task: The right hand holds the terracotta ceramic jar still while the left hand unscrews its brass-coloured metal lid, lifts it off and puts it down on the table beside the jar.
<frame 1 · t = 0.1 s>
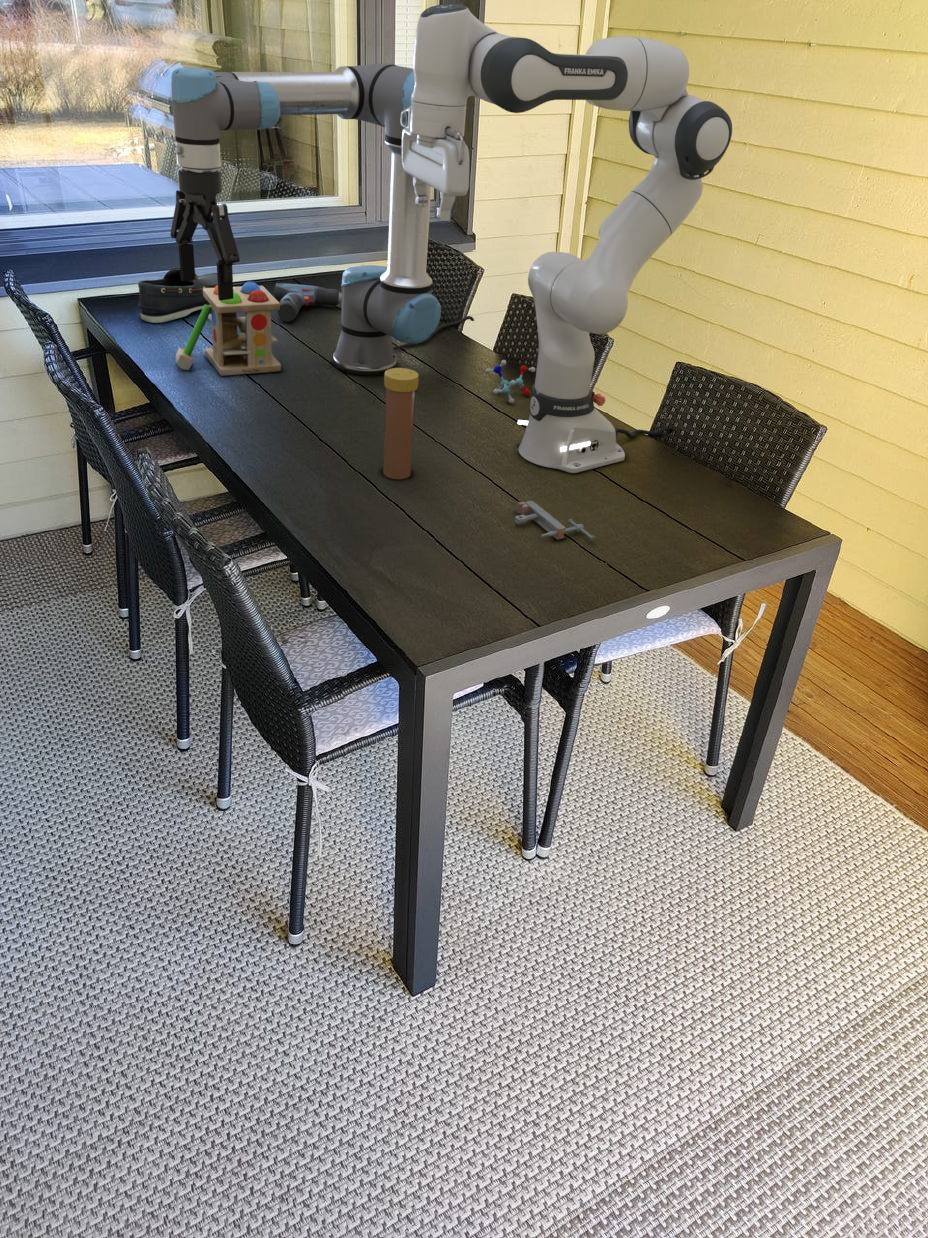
left hand: (206, 289, 186), 28 cm above the table, tool pointing down, fingers open, 13 cm apart
right hand: (432, 212, 166), 48 cm above the table, tool pointing down, fingers open, 8 cm apart
power drill: (305, 313, 267), on the table
lid: (401, 375, 180), point 20 cm above the table, screwed on, not yet turned
pounding bench toy: (225, 365, 230), on the table
clamp: (548, 530, 177), on the table
jar: (396, 473, 191), on the table
boat shoe: (186, 307, 263), on the table
molecular model: (506, 396, 229), on the table
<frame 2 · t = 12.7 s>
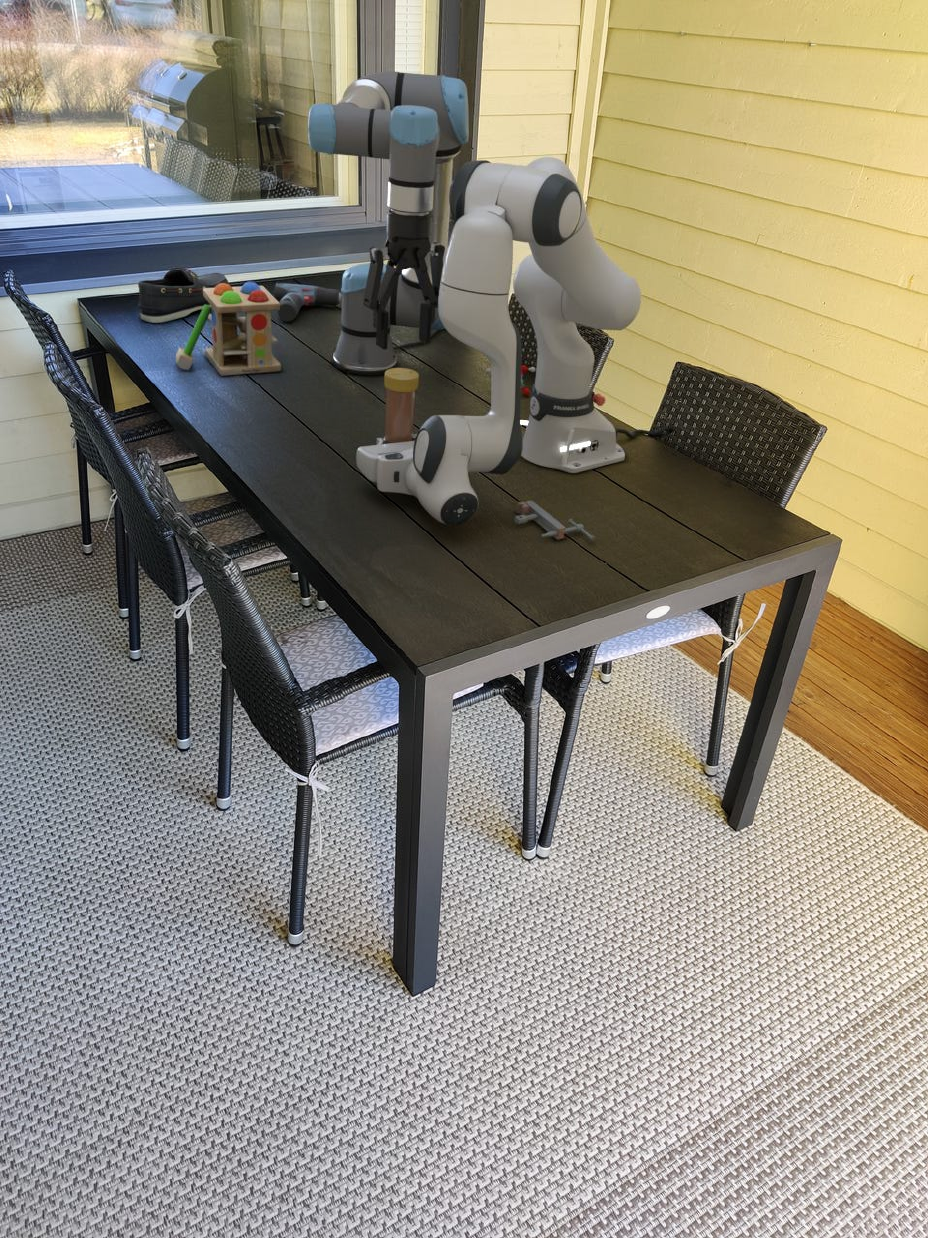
left hand: (403, 343, 176), 26 cm above the table, tool pointing down, fingers open, 8 cm apart
right hand: (396, 439, 188), 7 cm above the table, tool horizontal, fingers closed on jar, 5 cm apart
jar: (396, 473, 191), on the table, touching right hand
everything else where it was.
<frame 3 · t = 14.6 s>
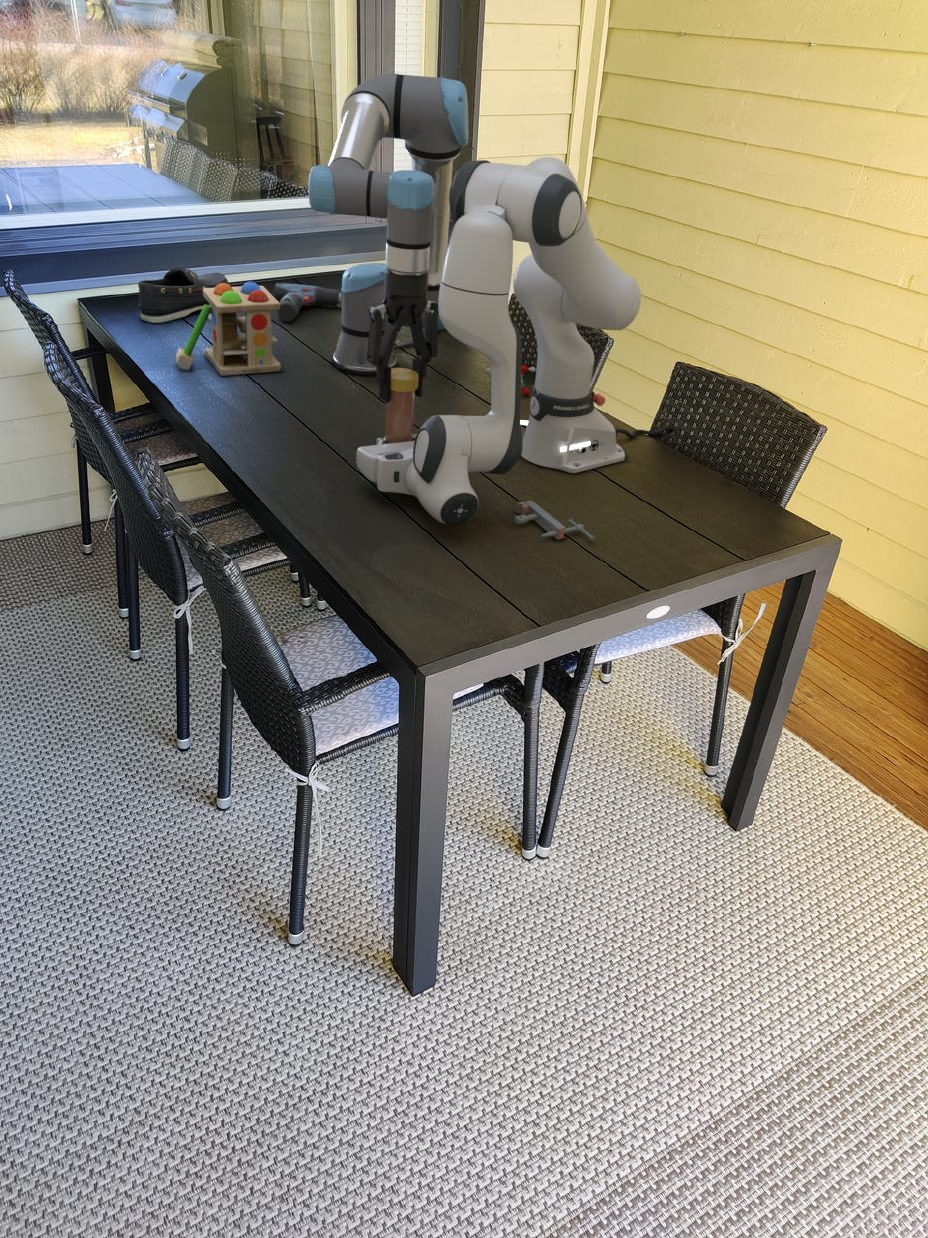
left hand: (400, 396, 182), 16 cm above the table, tool pointing down, fingers closed on lid, 6 cm apart
right hand: (396, 439, 188), 7 cm above the table, tool horizontal, fingers closed on jar, 5 cm apart
lid: (401, 375, 180), point 20 cm above the table, screwed on, not yet turned, touching left hand
jar: (396, 473, 191), on the table, touching right hand
everything else where it was.
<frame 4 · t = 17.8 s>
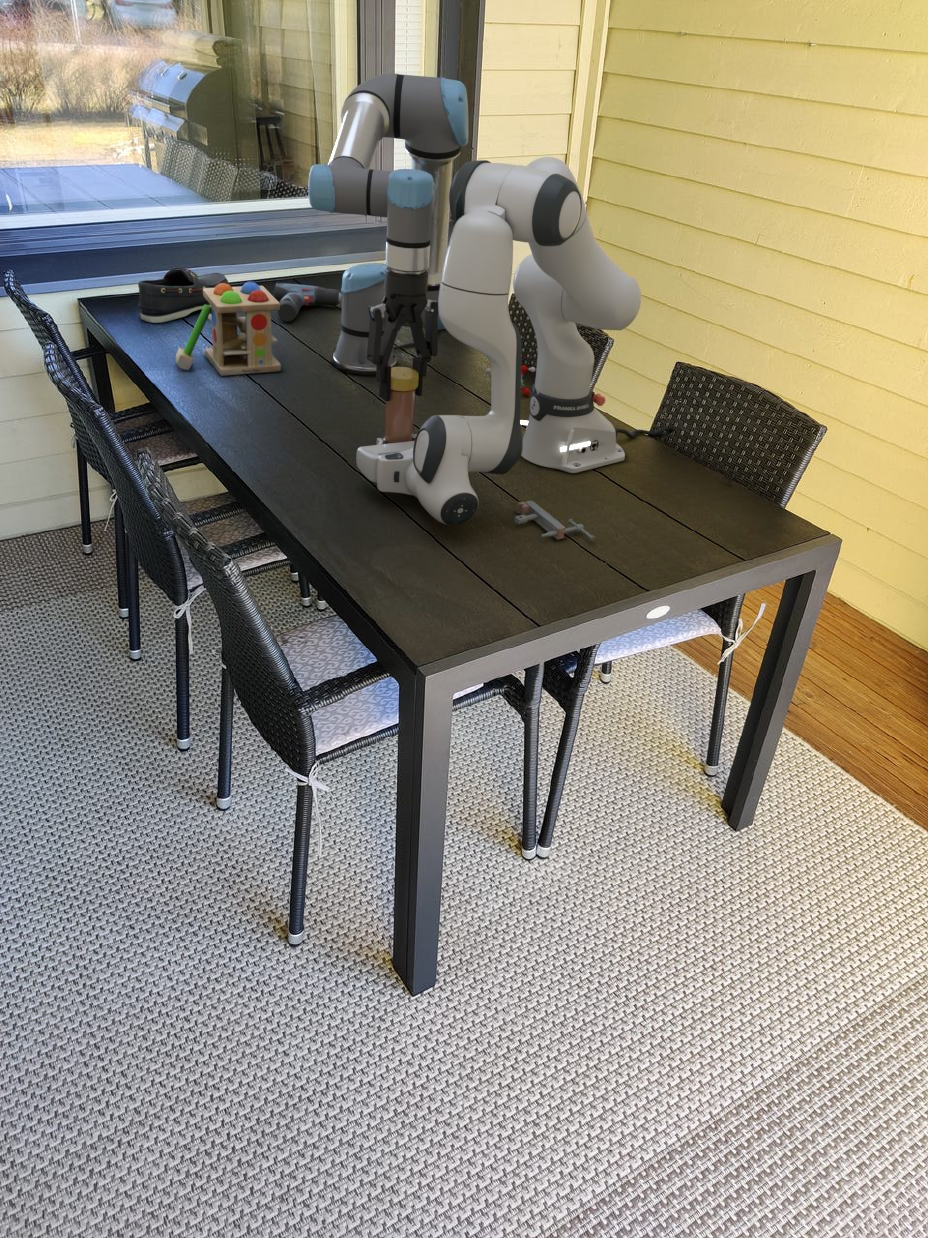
left hand: (400, 395, 182), 16 cm above the table, tool pointing down, fingers closed on lid, 6 cm apart
right hand: (396, 439, 188), 7 cm above the table, tool horizontal, fingers closed on jar, 5 cm apart
lid: (401, 374, 180), point 20 cm above the table, turned 82° so far, risen 0.2 cm, still on its thread, touching left hand
jar: (396, 473, 191), on the table, touching right hand
everything else where it was.
when the left hand's fingers open (0 cm above the table, at t = 26.2 s): lid drops 2 cm, point 2 cm above the table.
when the right hand's fingers open (7 cm above the table, at t = 26.9 s): jar stays where it is, on the table.
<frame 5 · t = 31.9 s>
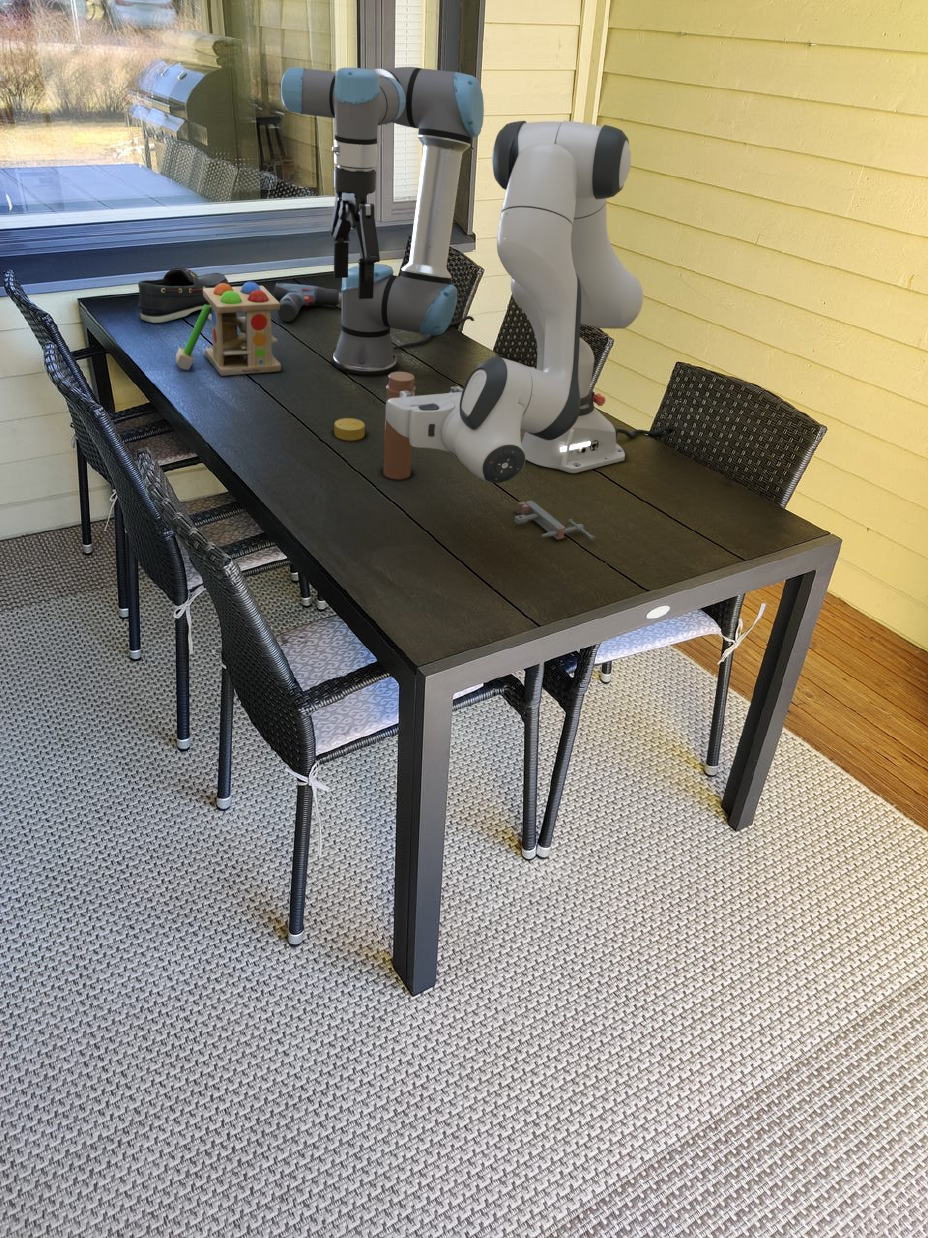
left hand: (352, 287, 187), 30 cm above the table, tool pointing down, fingers open, 13 cm apart
right hand: (428, 392, 170), 21 cm above the table, tool horizontal, fingers open, 8 cm apart
lid: (349, 425, 203), point 2 cm above the table, off its thread
jar: (396, 473, 191), on the table
everything else where it was.
at the end: lid came off its thread; lid point 1.9 cm above the table; the left hand is holding nothing; the right hand is holding nothing; jar tilted 0°; jar moved 0.0 cm from its start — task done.
